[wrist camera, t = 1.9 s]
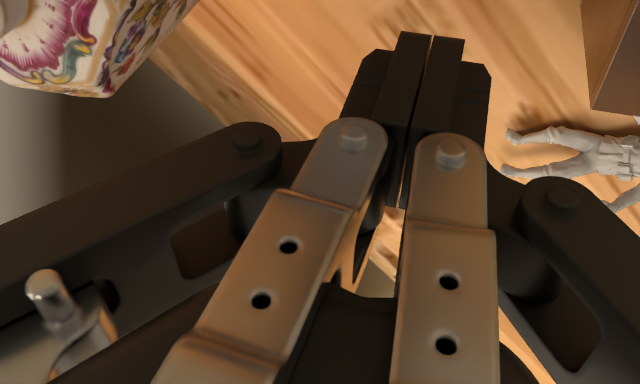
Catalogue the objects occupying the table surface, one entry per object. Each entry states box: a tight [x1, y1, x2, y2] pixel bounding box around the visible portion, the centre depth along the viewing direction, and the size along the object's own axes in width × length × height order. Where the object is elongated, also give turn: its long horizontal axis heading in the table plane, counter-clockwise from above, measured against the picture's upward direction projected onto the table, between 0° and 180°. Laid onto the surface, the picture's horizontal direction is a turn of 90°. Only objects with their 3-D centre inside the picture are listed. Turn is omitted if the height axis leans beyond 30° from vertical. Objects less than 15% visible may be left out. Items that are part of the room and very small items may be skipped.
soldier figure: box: [500, 116, 640, 212], centre depth 36 cm, size 8×5×12 cm
